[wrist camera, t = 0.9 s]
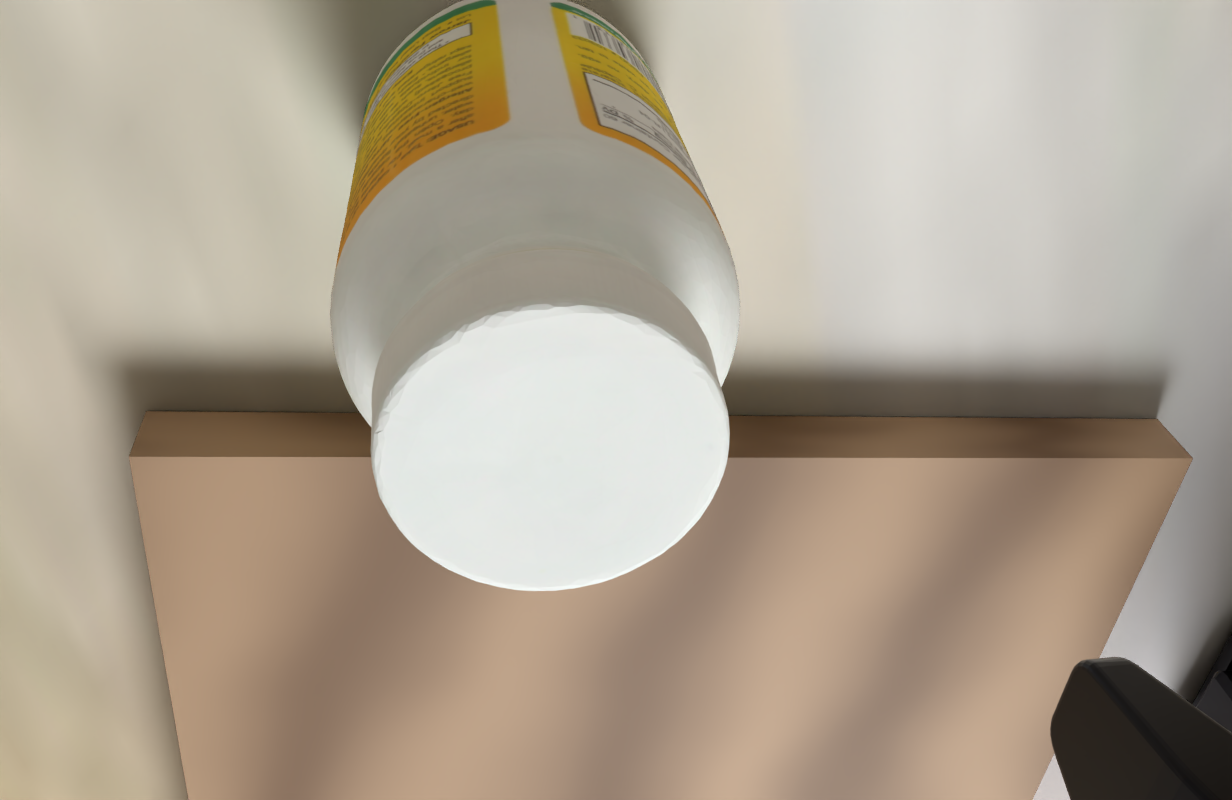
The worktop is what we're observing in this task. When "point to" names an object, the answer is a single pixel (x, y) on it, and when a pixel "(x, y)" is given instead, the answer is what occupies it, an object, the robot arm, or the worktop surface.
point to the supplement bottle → (533, 300)
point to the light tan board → (649, 617)
